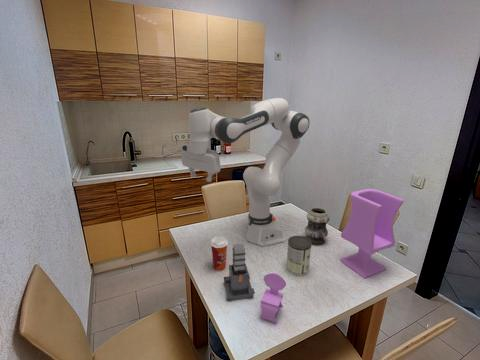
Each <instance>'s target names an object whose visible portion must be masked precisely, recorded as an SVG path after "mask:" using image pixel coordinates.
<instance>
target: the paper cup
mask: <svg viewBox="0 0 480 360" xmlns="http://www.w3.org/2000/svg"><path fill="white" fill-rule="evenodd" d="M228 244H229V243H228V239H226V237H224V236H215V237H213V238H211V241H210V246H211V256H212V264H213V265H212V266H213V269H214V270H215V271H218V272H220V271H221V272H222V271H223V270H225V268H226V266H227V255H228V254H227V250H228Z"/></svg>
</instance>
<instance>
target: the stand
mask: <svg viewBox="0 0 480 360" xmlns="http://www.w3.org/2000/svg"><path fill="white" fill-rule="evenodd" d="M250 280H251V276H250V273H249V270H248V267H247V265H246V262H245V273H243V274H234V275H233V264H229V265H228V276H223V282H224V285H225V293H226V298H227V302H230V301H238V300H246V299H253V298H254V295H255V294H256V292H255V289H254V287H252V285H251V282H250Z"/></svg>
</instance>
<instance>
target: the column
mask: <svg viewBox="0 0 480 360" xmlns="http://www.w3.org/2000/svg"><path fill="white" fill-rule="evenodd" d="M245 263H246V248H245V245H244V243H234V244H232V265H233V275H234V274H243V273H245Z"/></svg>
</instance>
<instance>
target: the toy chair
mask: <svg viewBox="0 0 480 360" xmlns="http://www.w3.org/2000/svg"><path fill="white" fill-rule="evenodd" d="M263 282H264V284H265V285H266V287H267V288H265V291H264V293H263V295H262V297H261V299H260V303H259V304H260V305H259V306H260V308H261V315H260V316H259V318H261V319H264V320H267V321H268V322H272V323H275V324H277V323H278V321H277V319H276V315H277V312H278V311H279V308H280V307H281V308H283V307H284V306H283V304H282V300H283V298H284V293H283V292H279V291H282V290H284V289H285V288H286V286H287V281H286V280H285V279H284V278H283V276H281V275H280V274H279V273H277V272H272V273H271V272H270V273H267V274H265V275H264V276H263Z"/></svg>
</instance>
